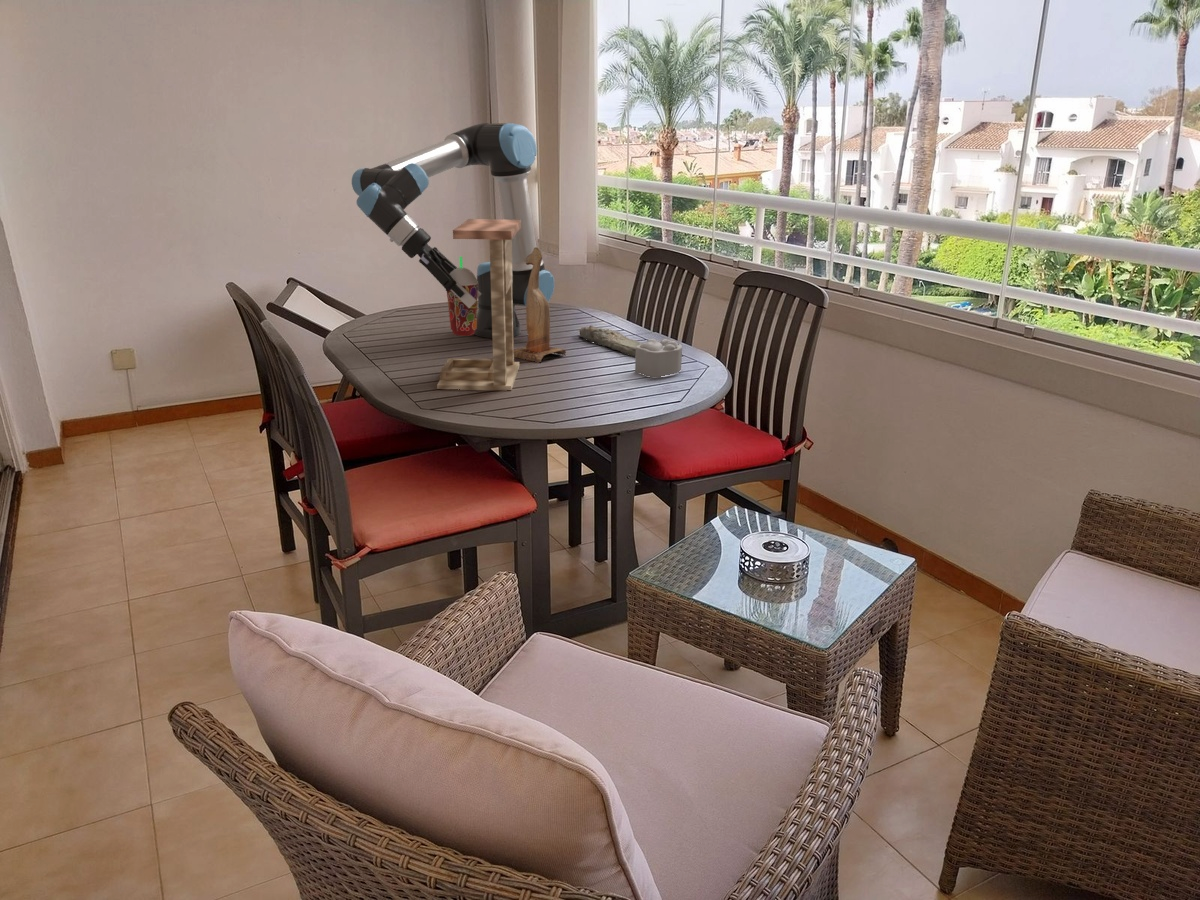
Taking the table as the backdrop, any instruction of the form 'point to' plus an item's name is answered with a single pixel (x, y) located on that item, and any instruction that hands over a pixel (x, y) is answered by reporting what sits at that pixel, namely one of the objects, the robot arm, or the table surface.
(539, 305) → the bird sculpture
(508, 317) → the wooden pedestal stand
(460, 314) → the smoothie
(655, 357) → the lumpy-topped squat cylinder
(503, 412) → the table surface
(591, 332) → the long grey stone
